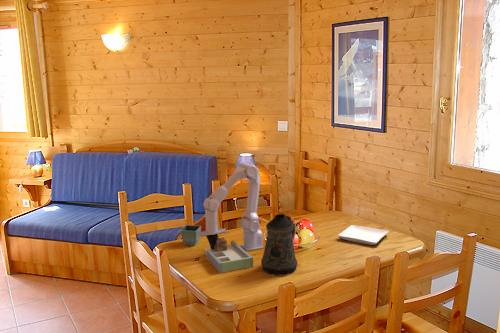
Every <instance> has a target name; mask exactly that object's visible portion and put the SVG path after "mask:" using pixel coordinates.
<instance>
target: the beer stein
mask: <svg viewBox="0 0 500 333" xmlns="http://www.w3.org/2000/svg"><path fill="white" fill-rule="evenodd" d="M265 228H266V231H267V233H266V239H265V245H264V250H263V255H262V258H261V260H260V263H261V269H262V271H263V272H264V273H266V274H268V275H271V276H272V275H273V276H277V277H278V276H287V275H291V274H293V273H295V272H296V271H297V266H298V260H297V257H296V254H295V245H294V238H295V237H296V236H295V234H296V224H295V223H294V221H293V220H292V217H291V216H290V215H289V216H288V215H285V214H284V213H283V214H282V213H280V214H276V215H274V217H273V218H272V219H271V220H270V221H268V222H267V223H266V225H265Z"/></svg>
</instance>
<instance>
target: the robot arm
mask: <svg viewBox="0 0 500 333" xmlns="http://www.w3.org/2000/svg"><path fill="white" fill-rule="evenodd" d="M244 179H246V180H248V182H249V183H248V193H247V198H246V208H245V211H244V213H243V214H242V218H241V220H240V226H241V227H242V234H243V235H242V237H243V241H242V242H243V244H240V247H241V248H242V249H244V250H245V251H246V252H247V251H252V250H258V249H263V248H264V246H263V245H264V244H263V233H262V232H263V231H262V230H261V229H260V227H261V226H260V224H261V223H260V220H259V219H260V218H259V215H258V213H257V212H258V204H259V197H260V196H259V195H260V188H261V187H260V186H261V180H262V179H261V176H260V173H259V168H258V167H257V166H256V165H254V164H252V163H248V162H245V161H242V162H240V163H239V164H238V166H236V167H235V169H234V170H233V172H232V174H231V175H230V176H229V178H228V179H227V180H226V182H225V183H224V184H223V185H219V186H218V187H216V188H215V191H213V192H212V194H211V195H209V197H207V198H205V199H204V200H203V201H204V202H203V203H202V206H203V207H204V210H205V212H204V213H205V216H204V218H205V230H203V231H202V230H201V232H198V233H197V237H198V238H199V237H200V238H202V237H206V239H207V241H208V244H209V248H211V249H212V250H214V247H215V243H216V241H217V239H218V238H219V235H221V234H227V229H226V228H218V209H219V208H220V204H221V203H222V202H223V200H225V198H226V197H227V196H228V195H229V190H230V189H232V187H233V186H234V185H235V184H236V183H237V182H238V181H239V180H244ZM200 238H199V239H200Z"/></svg>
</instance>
